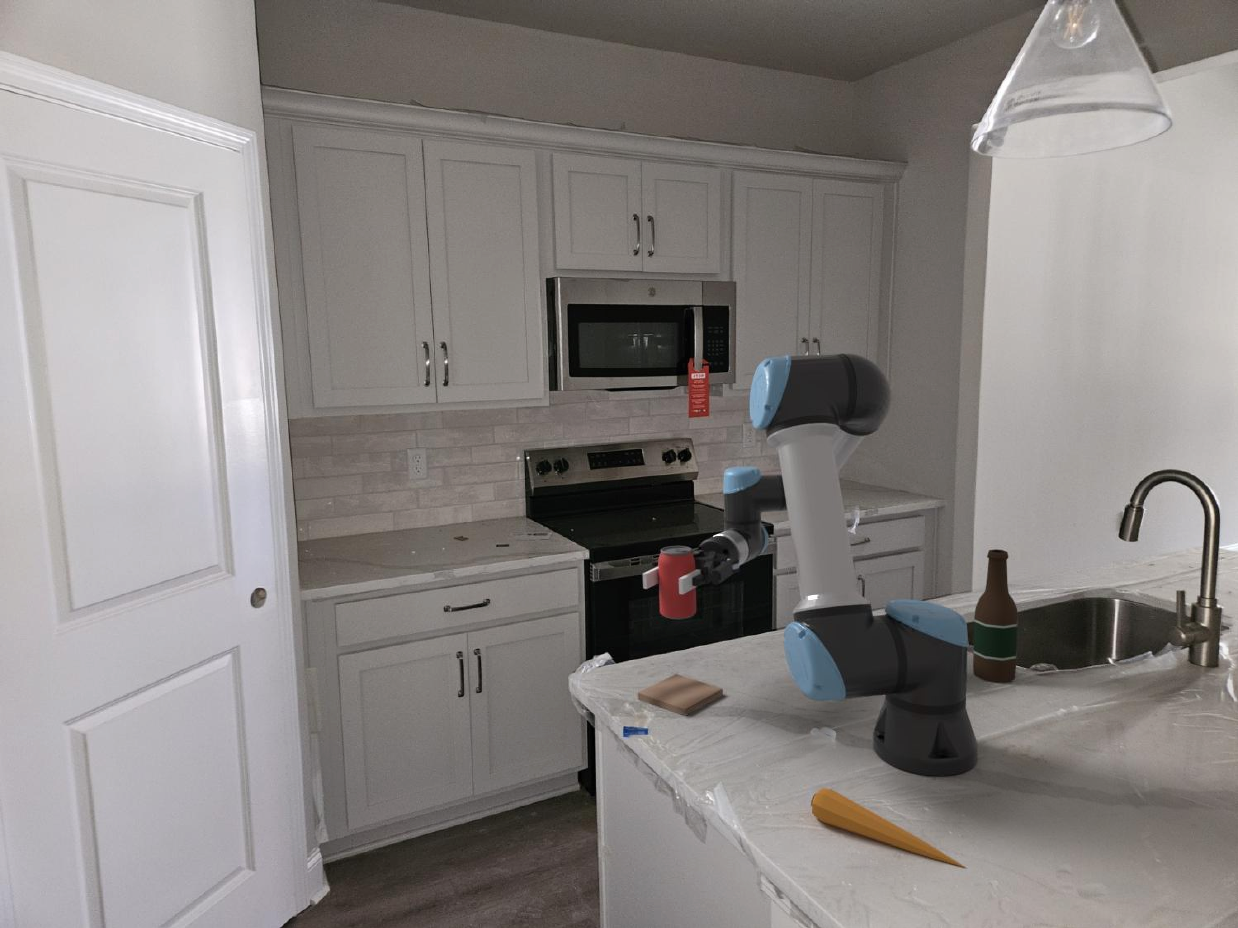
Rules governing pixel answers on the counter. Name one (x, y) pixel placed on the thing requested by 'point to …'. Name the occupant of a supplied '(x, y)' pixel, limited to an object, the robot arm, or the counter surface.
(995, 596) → the beer bottle
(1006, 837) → the counter surface
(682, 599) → the beer can
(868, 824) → the carrot
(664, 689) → the walnut board
